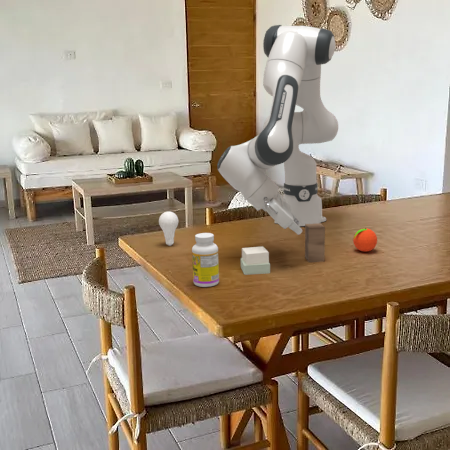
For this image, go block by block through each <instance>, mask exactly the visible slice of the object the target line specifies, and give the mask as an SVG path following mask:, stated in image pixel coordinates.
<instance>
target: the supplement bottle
mask: <svg viewBox="0 0 450 450" xmlns="http://www.w3.org/2000/svg"><path fill="white" fill-rule="evenodd" d="M194 237H195V238H194V240H195V242H196V243H195V244H194V245H193V246H192V248H191V254H192V255H191V258H192V259H191V260H192V261H191V262H192V280H193V284H194V285H195V286H197V287H199V288H200V287H201V288H209V287H214V286H217V285H218V284H219V283H220V270H219V268H220V267H219V266H220V265H219V247H218V245H217V244H216V243H214V240H215V238H214V237H215V235H214V234H213V233H211V232H202V233H196V234H195V235H194Z"/></svg>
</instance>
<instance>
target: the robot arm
mask: <svg viewBox="0 0 450 450" xmlns="http://www.w3.org/2000/svg"><path fill="white" fill-rule="evenodd" d="M262 47H263V53H264V55H265V56H266V57H267V60H266V64H265V67H264V71H263V72H264V73H263V80H262V84H263V85H262V86H263V88H264V90H265V91H266V93H268V94H269V95H270V96H272V103H271V107H270V111H269V112H270V113H269V115H268V116H267V117H266V119H265V120H264V122H263V129H262V131H261V132H260V133H259V134H258V135H256V136H254V138H251V139H250V140H247V141H246V142H242V143H241V144H237V145H230V146H228V147H227V148H226V149H225V150H224V152H223V153H222V154H221V156H220V158H219V159H218V161H217V165H216V166H217V171H218V172H219V174H220V175H221V176H222V178H223V179H224V180H225V181H226V182H227V183H228V184H229V185H230V186H231V187H232V188H233V189H234V190H236V191H238V192H239V193H240V194H242V196H243V198H244V199H245V200H246V201H247V202H248V203H249V204H250V205H251V206H252V207H253V208H254V209H255V210H256V211H260V210H263V211H264V212H267V214H268V215H269V216H270V217H271V218H272V219H273V220H274V222H273V223H274V224H278V225H279V227H281V228H283V229H285V230H286V229H287V228H288V229H290V230H292V231H293V232H294V233H295V234H296V235H301V234H302V233H303V229H302V227H305V224H316V223H321V224H322V223H323V222H326V221H327V217H325V216H323V203H322V198H321V197H320V196H319V195H318V193H319V192H318V190H319V186H318V182H317V162H316V161H317V160H315V158H313V156H311V155H309V154H308V153H305V152H303V151H301V150H300V148H299V146H300V145H306V144H309V145H311V144H323V143H327V142H332V141H333V140H334V139H335V138H336V137H337V134H338V131H339V122H338V119H337V118H336V116H335V115H334V113H332V112H330V110H328V109H327V108H326V107H325V105H324V103H323V101H322V97H321V75H322V65H326V64H328V63H329V62H330V61H331V60H332V58H333V56H334V54H335V51H336V39H335V35H334V33H333V31H331V30H329V29H326V28H323V27H322V28H318V27H313V26H307V25H282V24H278V25H277V24H274V25H272V26H270V27H269V28H268V29H267V30H266V31H265V34H264V36H263V43H262ZM296 106H298V107H300V108H302V109H303V110H302V111H295V110H296ZM282 164H283V167H284V183H283V188H282V189H283V195H282V194H281V193H280V192H279V190H280V187H279V185H278V184H276V183H275V182H274V181H273V180H272V178H270V177H269V175H267V173H266V172H267V171H268V170H269V169H272V168H273V167H275V166H279V165H282Z"/></svg>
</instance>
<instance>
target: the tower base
mask: <svg viewBox="0 0 450 450" xmlns="http://www.w3.org/2000/svg"><path fill="white" fill-rule="evenodd" d="M240 268H241V271H242V273H243V275H245V276H247V275H250V276H251V275H261V274H263V275H264V274H265V275H266V274H271V263H270V262H269V263H264V264H253V265H247V264H246V263H245V262H244V260H243V259H242V257H240Z"/></svg>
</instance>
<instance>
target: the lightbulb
mask: <svg viewBox="0 0 450 450" xmlns="http://www.w3.org/2000/svg"><path fill="white" fill-rule="evenodd" d="M158 218H159V219H158V225H159V226H160V228H161V230H162V231H163V235H164V239H165V245H167V246H169V247H170V246H172V245H174V243H175V232H176V229H177V227H178V225H179V218H178V215H177V214H176V213H175V212H173V211H165V212H163V213H161V215H160V216H159V217H158Z"/></svg>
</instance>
